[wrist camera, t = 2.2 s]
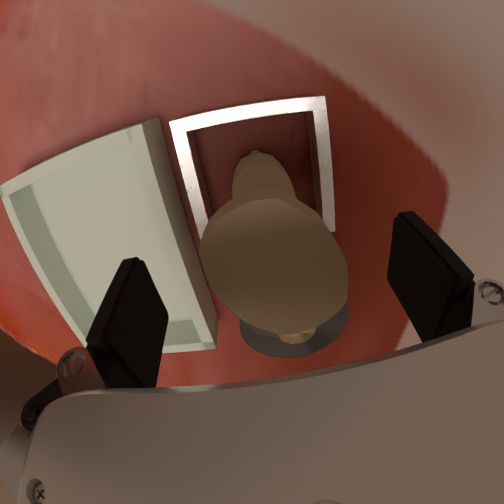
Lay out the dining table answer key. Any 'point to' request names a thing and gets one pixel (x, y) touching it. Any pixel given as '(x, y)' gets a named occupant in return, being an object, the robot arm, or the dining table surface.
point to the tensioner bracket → (323, 206)
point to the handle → (272, 253)
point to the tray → (112, 230)
